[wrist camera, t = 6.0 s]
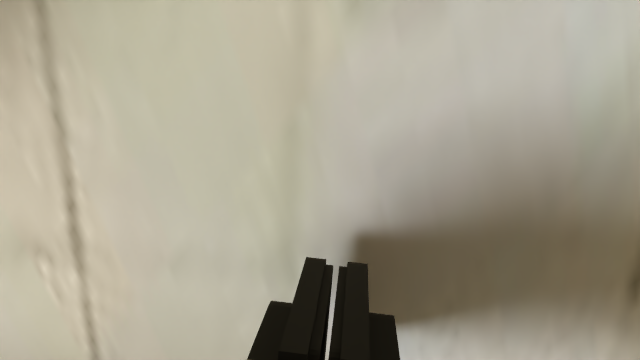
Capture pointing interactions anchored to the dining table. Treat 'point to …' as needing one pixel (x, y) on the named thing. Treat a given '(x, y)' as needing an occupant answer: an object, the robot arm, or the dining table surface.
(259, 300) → the dining table surface
